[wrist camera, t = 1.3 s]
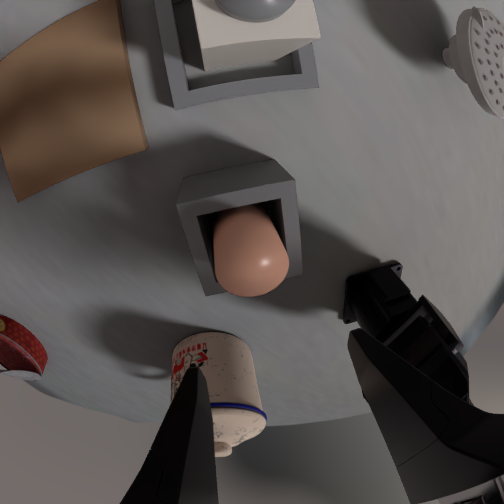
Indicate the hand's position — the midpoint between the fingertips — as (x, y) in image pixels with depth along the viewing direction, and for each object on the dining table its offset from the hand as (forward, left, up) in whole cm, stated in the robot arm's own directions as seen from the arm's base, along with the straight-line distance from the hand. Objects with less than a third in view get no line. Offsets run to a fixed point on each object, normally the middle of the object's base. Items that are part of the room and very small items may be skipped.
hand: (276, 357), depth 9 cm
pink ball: (0, 0, -10) cm, 10 cm away
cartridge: (+12, -2, -13) cm, 18 cm away
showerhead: (+12, -21, -13) cm, 28 cm away
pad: (+12, +11, -13) cm, 21 cm away
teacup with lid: (-17, +7, -13) cm, 23 cm away
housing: (0, 0, -13) cm, 13 cm away
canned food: (-10, +32, -13) cm, 36 cm away
